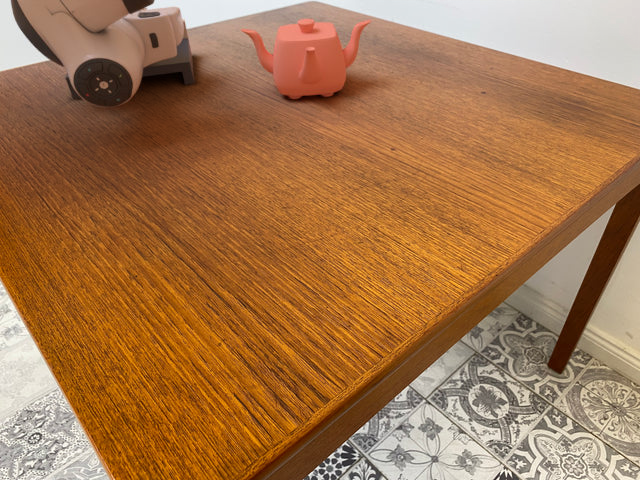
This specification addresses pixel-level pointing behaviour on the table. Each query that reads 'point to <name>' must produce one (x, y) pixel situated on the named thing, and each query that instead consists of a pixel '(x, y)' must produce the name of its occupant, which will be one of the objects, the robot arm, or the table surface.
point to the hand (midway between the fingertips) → (121, 15)
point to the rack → (165, 65)
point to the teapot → (308, 57)
